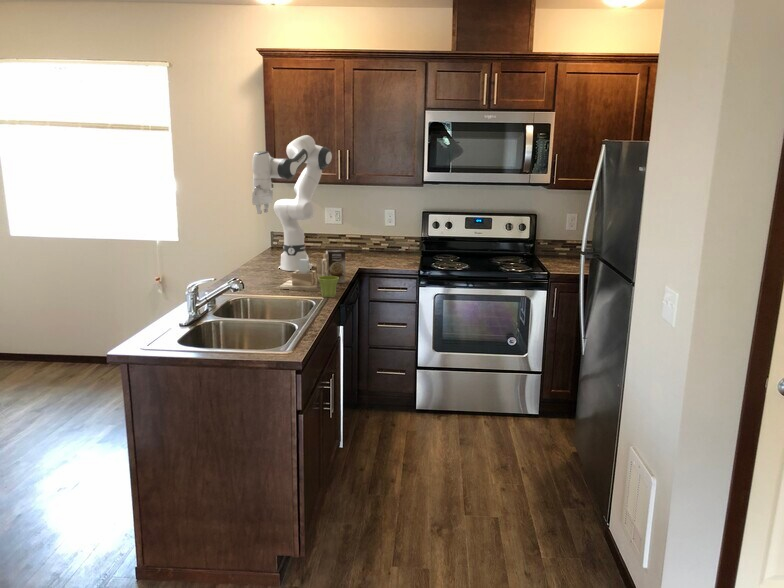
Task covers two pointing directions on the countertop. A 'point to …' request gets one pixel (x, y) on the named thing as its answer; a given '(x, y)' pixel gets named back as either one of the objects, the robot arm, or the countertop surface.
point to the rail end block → (304, 266)
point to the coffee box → (336, 264)
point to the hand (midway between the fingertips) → (262, 213)
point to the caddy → (308, 277)
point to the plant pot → (328, 285)
